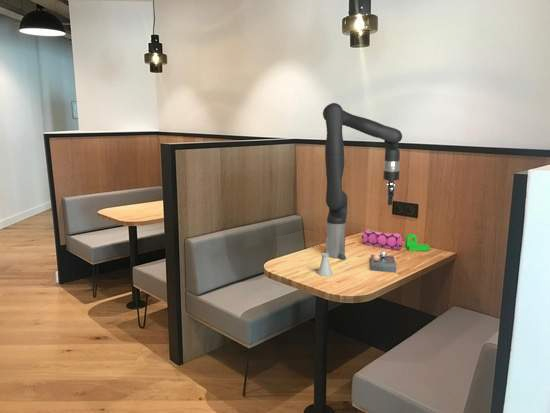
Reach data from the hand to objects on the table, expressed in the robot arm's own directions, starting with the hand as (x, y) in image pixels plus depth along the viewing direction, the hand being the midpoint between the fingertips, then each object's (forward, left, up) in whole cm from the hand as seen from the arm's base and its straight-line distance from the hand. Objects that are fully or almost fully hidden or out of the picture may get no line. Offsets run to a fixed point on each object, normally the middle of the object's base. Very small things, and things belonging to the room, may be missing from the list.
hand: (390, 204), depth 218 cm
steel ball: (-3, -10, -23) cm, 25 cm away
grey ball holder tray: (-3, -15, -27) cm, 31 cm away
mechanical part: (+17, +19, -28) cm, 38 cm away
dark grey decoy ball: (-22, -11, -25) cm, 35 cm away
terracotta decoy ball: (-6, -17, -23) cm, 29 cm away
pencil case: (-2, +19, -27) cm, 33 cm away
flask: (-29, -35, -27) cm, 53 cm away
